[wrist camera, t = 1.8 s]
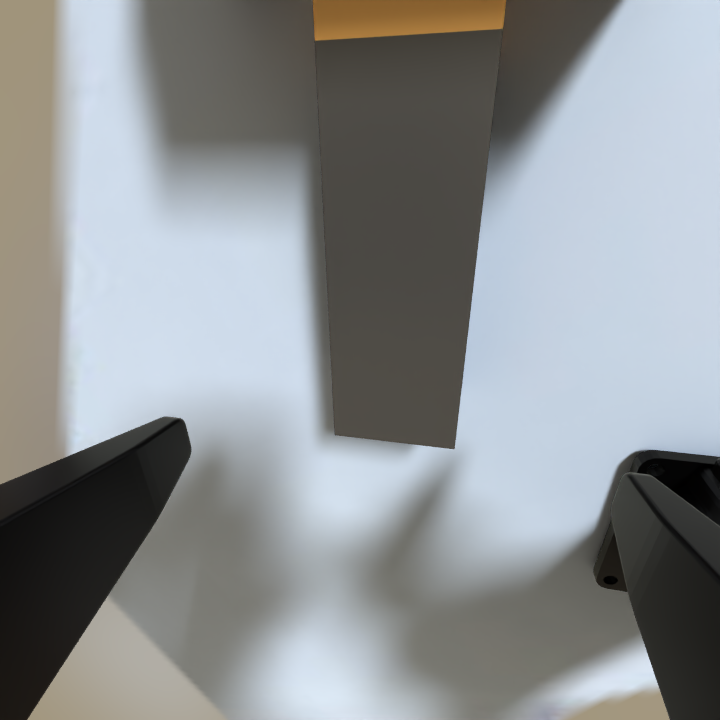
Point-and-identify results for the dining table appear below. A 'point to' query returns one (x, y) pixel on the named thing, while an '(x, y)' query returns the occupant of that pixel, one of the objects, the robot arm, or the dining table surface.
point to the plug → (403, 203)
